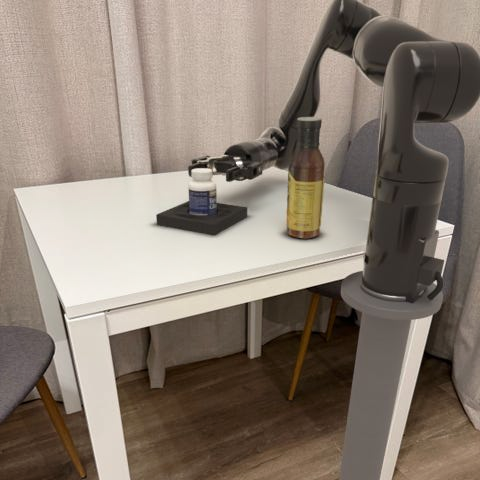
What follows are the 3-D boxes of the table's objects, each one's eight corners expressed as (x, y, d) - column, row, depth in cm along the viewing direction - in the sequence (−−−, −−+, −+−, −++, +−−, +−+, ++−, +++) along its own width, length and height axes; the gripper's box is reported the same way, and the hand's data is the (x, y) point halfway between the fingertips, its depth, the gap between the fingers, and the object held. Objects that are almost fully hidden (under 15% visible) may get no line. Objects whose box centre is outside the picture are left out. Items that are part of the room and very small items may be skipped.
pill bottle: (214, 225, 93) (213, 173, 88) (187, 224, 93) (184, 172, 89) (219, 216, 98) (218, 167, 93) (192, 215, 98) (190, 166, 93)
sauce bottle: (296, 226, 92) (303, 114, 82) (326, 233, 89) (336, 117, 79) (278, 236, 87) (283, 118, 78) (309, 243, 84) (318, 121, 74)
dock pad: (247, 216, 98) (247, 207, 97) (214, 235, 88) (214, 224, 87) (193, 208, 103) (193, 198, 102) (156, 224, 93) (155, 214, 92)
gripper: (218, 139, 107) (177, 150, 95) (277, 144, 101) (240, 157, 89) (219, 173, 111) (179, 189, 98) (275, 180, 105) (240, 197, 92)
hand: (208, 174), depth 93 cm, fingers open, 8 cm apart
